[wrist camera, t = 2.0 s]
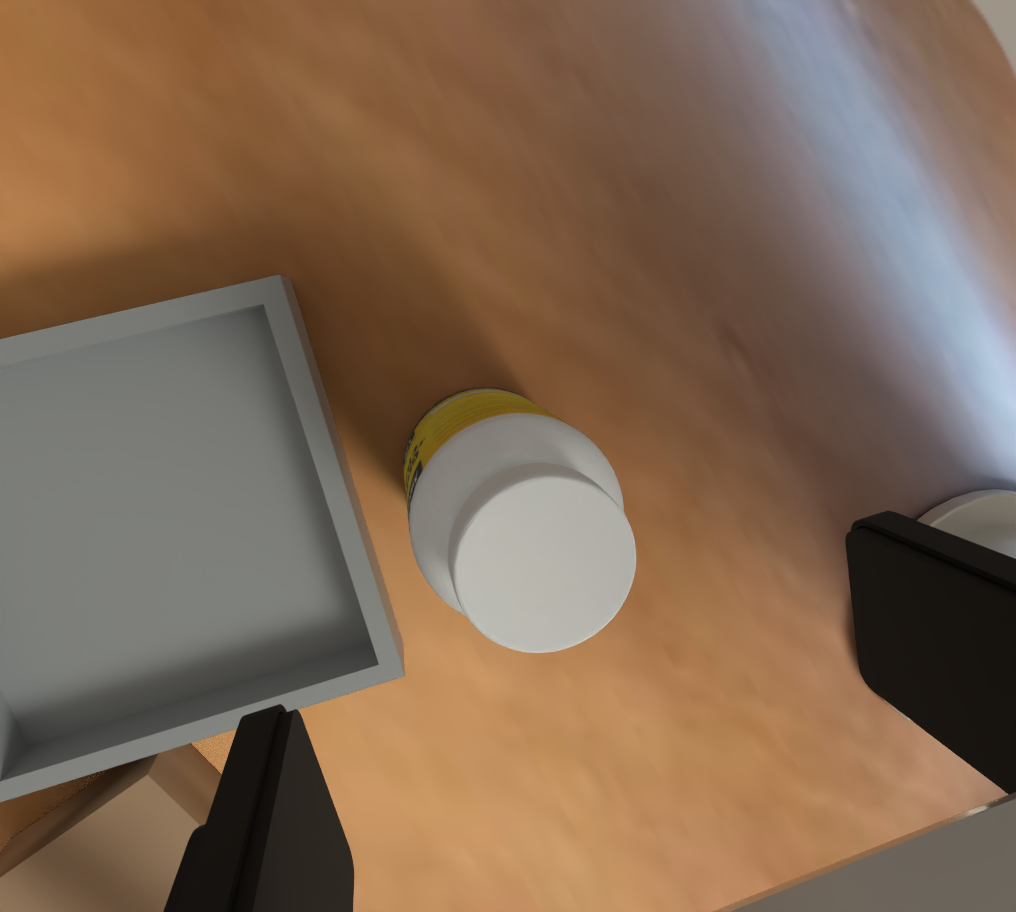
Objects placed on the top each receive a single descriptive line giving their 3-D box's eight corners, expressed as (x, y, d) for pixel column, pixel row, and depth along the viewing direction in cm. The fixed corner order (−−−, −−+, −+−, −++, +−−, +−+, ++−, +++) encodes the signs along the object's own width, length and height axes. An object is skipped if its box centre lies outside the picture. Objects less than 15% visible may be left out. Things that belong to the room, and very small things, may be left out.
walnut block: (172, 725, 27) (147, 774, 24) (251, 804, 28) (235, 859, 26) (9, 839, 27) (-36, 902, 24) (97, 913, 28) (63, 981, 25)
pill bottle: (405, 380, 26) (419, 428, 15) (563, 389, 27) (686, 440, 16) (399, 537, 27) (407, 690, 16) (550, 539, 28) (655, 682, 17)
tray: (290, 278, 24) (279, 274, 22) (403, 644, 28) (404, 676, 26) (-161, 383, 23) (-230, 392, 20) (24, 760, 26) (-15, 806, 24)
